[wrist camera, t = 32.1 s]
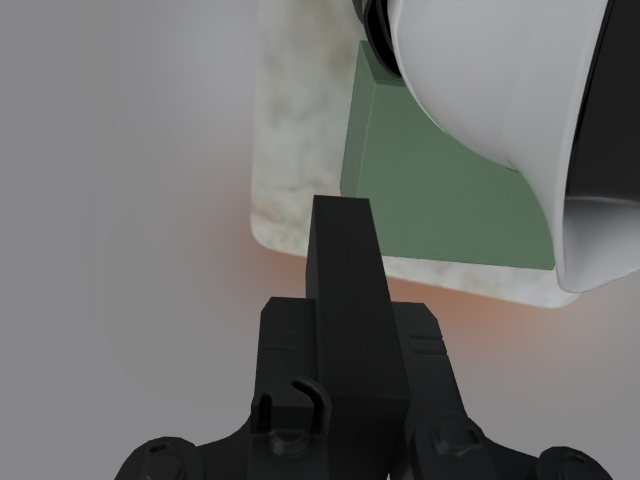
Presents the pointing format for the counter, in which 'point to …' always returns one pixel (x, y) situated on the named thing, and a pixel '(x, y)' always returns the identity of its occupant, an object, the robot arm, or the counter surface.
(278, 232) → the counter surface
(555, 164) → the kettle
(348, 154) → the chest
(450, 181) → the lid
